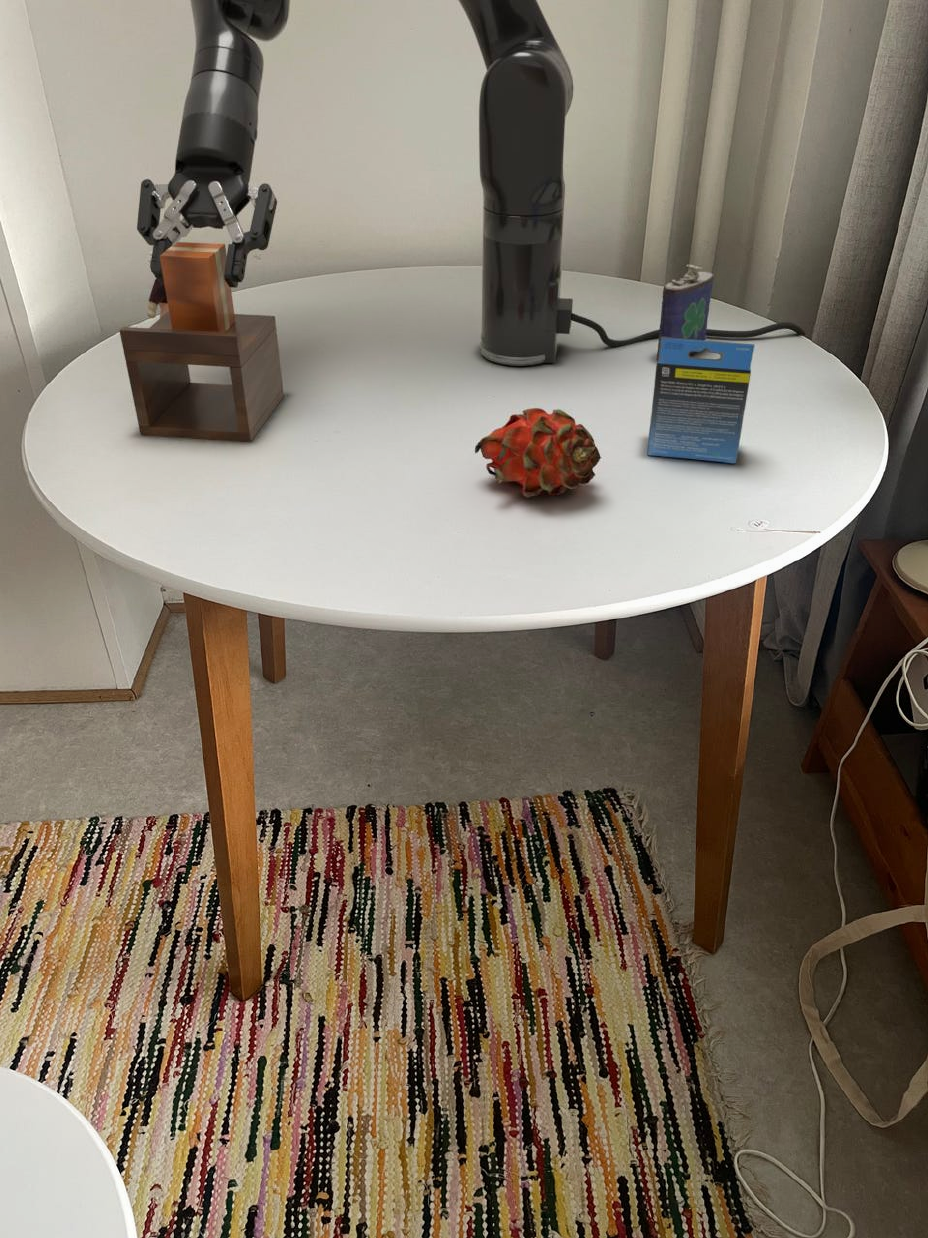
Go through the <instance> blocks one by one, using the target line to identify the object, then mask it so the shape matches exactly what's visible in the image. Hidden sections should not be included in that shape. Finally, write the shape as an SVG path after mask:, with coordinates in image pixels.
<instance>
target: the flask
mask: <svg viewBox="0 0 928 1238" xmlns="http://www.w3.org/2000/svg"><path fill="white" fill-rule="evenodd" d="M685 267H687V268H688V271H687V272H686V273H685V274H684V275H683V278H679V280H676V279H672V280H671V282H668V283H666V284H665V285H664V286H663V289H662V301H661V310H660V311H661V312H660V323H659V329H658V330H659V336H658V344H657V352H656V358H655V359H656V363H657V362H658V356H659V348H660V339H661V338H660V337H670V338H680V339H694V340H706V336H705V335H706V329H708V318H709V313H710V304H711V298H712V291H713V284H714V277H715V275H714V274H713V273H712V272H708V271H702V270H703V268H704V267H701V266H696V265H694V264H686V266H685ZM696 353H697V352H694V351H692V352H690V353H689V355H690V357H692V355H694V354H696Z"/></svg>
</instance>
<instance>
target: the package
mask: <svg viewBox="0 0 928 1238" xmlns="http://www.w3.org/2000/svg"><path fill="white" fill-rule="evenodd" d="M226 258H227V247H226V244H225V243H214V242H213V243H212V242H211V243H209V242H189V241H187V242H186V241H178V243H176V244H175V245H174V246H172V247H170V248H169V249H167V250H166V251H165V252H164V253H163V254H161V255H160V261H161V267H162V273H163V278H164V284H165V290H166V296H167V302H168V308H169V313H170V319H171V325H172V329H173V330H193V331H212V332H226V331H227V330H228V329H229V328H230V326H231V325H232V324H233V323H234V322H235V315H234V314H235V308H234V300H233V293H232V287H229V286H228V284H227V283H226V281H225V279H224V272H225V265H226Z"/></svg>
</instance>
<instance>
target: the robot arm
mask: <svg viewBox="0 0 928 1238" xmlns="http://www.w3.org/2000/svg"><path fill="white" fill-rule="evenodd" d="M189 1H190V7H191V13H192V19H193V27H194V37H195V38H194V39H195V51H194V57H193V58H194V59H193V66H192V72H191V78H190V83H189V88H188V90H187V93H186V97H185V101H184V105H183V110H182V117H181V123H180V129H179V135H178V140H177V141H178V142H177V148H176V154H175V160H174V161H175V162H174V174H173V176H172V178H170V180H169V182H168V183H164V184H154V182H153V181H152V180H151V179H149V178H145V179H143V180H142V181H141V182H140V192H139V201H138V202H139V203H138V212H137V222H136V230H137V232H138V233H139V235H140V236H141V238H143V240H144V241H145V242H146V244H147V245H149V246H152V250H153V251H152V250H151V251H152V258H151V264H150V263H149V268H150V271H151V273H152V275H153V276H154V278H155V279H157V280H158V281H159V282H160V284H164V278H163V273H162V267H161V261H160V255H161V254H163V253H164V252H165V251H166V250H167V249H169V248H170V247H172V246H174V245H175V244H176V243H178V242H180V240H181V239H182V238H186V237H187V236H188V235H189V234H190V232H191V231H192V230H193V228H194V229H203V228H207V227H209V228H213V229H215V230H223V229H224V227H226V230H227V232H228V234H229V236H230V238H231V241H232V242H231V243H228V246H227V250H226V255H227V258H226V265H225V272H224V279H225V281H226V283H227V284H228V286H229V287H231V288H233V289H234V288H235V289H237V288H238V287H239V286H238V285H239V283H243V281H244V279H245V273H246V267H247V260H248V255H249V254H250V253H251V252H252V251H254V250H259V251H265V250H267V249H268V247H269V242H270V238H271V234H272V228H273V224H274V220H275V215H276V210H277V206H278V200H277V197H276V195H275V193H274V191H273V189H272V187H271V186H270V184H269V183H265V182H264V183H261V184H260V185H259V187H254V186H250V185H249V184H250V180H251V175H252V167H253V161H254V154H255V146H256V141H257V139H258V126H259V101H260V96H261V89H262V83H263V76H264V67H265V66H264V65H265V63H264V62H265V59H264V55H263V52H262V50H261V47H259V45H258V44H257V43H256V41H255V40H257V41H260V42H265V43H268V42H272V41H274V40H275V39H277V38H278V37H280V35H281V34H282V33H283V31H284V30H285V28H286V26H287V25H288V21H289V17H290V8H291V7H290V6H291V0H189ZM457 1H458V2H459V4H460V5H461V7H462V10H463V12H464V13H465V15H466V17H467V19H468V21H469V24H470V26H471V28H472V31H473V34H474V37H475V39H476V42H477V44H478V45H477V46H478V47H479V50H480V53H481V56H482V58H483V63H484V66H485V69H486V72H485V74H484V76H483V79H482V82H481V85H480V86H481V87H480V91H479V102H478V154H479V155H478V158H479V159H478V160H479V161H478V163H479V165H478V166H479V179H480V184H481V188H482V261H481V262H482V268H481V269H482V270H481V271H482V272H481V273H482V274H481V275H482V277H481V335H480V338H481V339H480V340H481V341H480V354H481V355H482V357H484V358H485V359H486V360H488V361H491V362H494V363H496V364H501V365H507V366H517V367H518V366H519V367H520V366H521V367H522V366H523V367H525V366H535V365H539V364H545V363H549V364H553V363H555V360H556V356H557V353H558V339H559V334H560V335H561V334H562V335H570V333H571V327H572V322H575V323H578V324H581V325H583V326H585V327H588V328H591V329H592V330H594V332H596V333H597V334H598V335H599V338H600V340H601V341H602V342H603V344H605V345H606V346H608V347H611V348H618V347H625V346H629V345H634V344H637V343H641V342H645V341H649V340H652V339H654V338H657V337H658V338H659V329H655V330H652V331H649V332H646V333H644V334H641V335H638V336H635V337H633V338H629V339H623V340H618V339H612V338H610V337H609V336H608V334H607V332H606V330H605V328H604V327H603V326H602V325H600V324H599V323H597V322H596V321H594V320H591V319H589V318H586V317H583V316H581V315H578V314H576V313H573V306H574V305H573V304H574V299H573V298H563V297H561V289H562V288H561V287H562V286H561V285H562V270H561V269H562V267H561V265H562V249H563V232H564V231H563V229H564V214H565V213H564V212H565V197H566V184H565V183H566V182H565V178H564V151H565V130H566V117H567V115H568V113H569V111H570V109H571V106H572V103H573V100H574V99H573V98H574V89H575V88H574V87H575V86H574V78H573V75H572V71H571V68H570V66H569V63H568V61H567V59H566V57H565V55H564V54H563V53H564V52H563V51H562V49H561V48H560V47H561V46H559V43H558V42H557V39H556V38H555V36H554V34H553V32H552V29H551V28H550V26H549V23H548V21H547V19H546V17H545V15H544V13H543V11H542V9H541V7H540V4H539V2H538V1H537V0H457ZM170 198H171V199H172V202H171V203H170V204H169V205H168V207H167V208H166V210H164V213H163V218H162V220H161V211H162V209H165V207H166V202H167V201H168V199H170ZM250 202H251V205H252V207H253V208H254V209H253V210H254V211H253V214H252V218H251V223H250V228H249V231H246V232H244V230H243V227H242V225H241V223H240V220H239V218H238V215H239V214H240V213H241V212H242V211H243V210H244V209H245V208H246V207H247V206H248V204H250ZM181 216H182V219H181V218H180V217H181ZM160 221H161V222H160ZM779 330H790V331H793V332H794V333H795V334H797V335H798V336H806V335H807V334H806V332H805V330H804V329H803V328H802V327H801V326H799V325H798V324H797V323H794V322H789V321H788V322H787V321H782V322H775V323H773V324H770V325H767V326H763V327H760V328H756V329H752V330H751V329H750V330H726V329H725V330H724V329H711V328H707V329H706V335H705V337H715V338H730V339H747V338H756V337H758V336H762V335H766V334H769V333H772V332H775V331H779Z"/></svg>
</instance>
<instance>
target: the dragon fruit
mask: <svg viewBox="0 0 928 1238" xmlns="http://www.w3.org/2000/svg"><path fill="white" fill-rule="evenodd" d="M521 412H522V413H519V414H517V413H515V414H512V415H510V416H509V420H508V421H507V422H506V423H505V424H504V425H502V427H498V428H496V429H495V430H493V431H492V432H491V433H490V434H488V435H486V436H484V437H482V438H481V439H480V440H479V441H478V442H477V443H476V445H475V447H474V451H473V454H474V455H475V454H477V453H479V452H481V455H482V458H483V459H485V460H491V462H488V463H487V464H486V466H485V468H486V471H487V472H488V474H490V475H491V476H493V477H494V478H495V480H497V481H496V482H497V483H498V484H500V485H501V483H503V482H508V483H509V482H515V483H516V484H517V485H519V486H522V495H523V496H524V497H525V498H528V499H531V498H533V497H535V496H539V495H540V494H541V492H543V491H547V493H548V495H549V496H559V495H561V494H564V493H565V492H566V491H567V489H570V490H575V489H578V488H579V487H580V485H586V484H589V483H590V482H591V481H592V480H593V479H594V477H595V476H596V473H595V472H594V470H593V469H594V468H595V467H596V466H597V465H598V463H599V462H600V460H601V459H602V457H601V453H600V451H599V448H598V447H597V446H596V442H595V439H594V437H593V436H592V434H591V433H590V432H589V430H588V429H587V428H586V427H585V426H584V425H583V424H581V423H578V424H576V420H575V418H574V417H572V415H570V414H568V413H567V412H566V411H564V410H562V409H560V408H559V409H553V410H552V413H548V412H547V411H546V410H545V409H542V408H539V407H533V408H526V409H524V410H522V411H521ZM491 468H492V469H493V470H492V469H491Z"/></svg>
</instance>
